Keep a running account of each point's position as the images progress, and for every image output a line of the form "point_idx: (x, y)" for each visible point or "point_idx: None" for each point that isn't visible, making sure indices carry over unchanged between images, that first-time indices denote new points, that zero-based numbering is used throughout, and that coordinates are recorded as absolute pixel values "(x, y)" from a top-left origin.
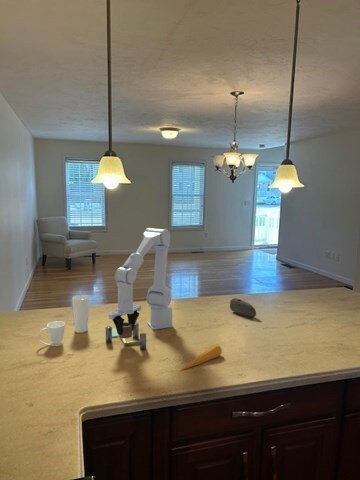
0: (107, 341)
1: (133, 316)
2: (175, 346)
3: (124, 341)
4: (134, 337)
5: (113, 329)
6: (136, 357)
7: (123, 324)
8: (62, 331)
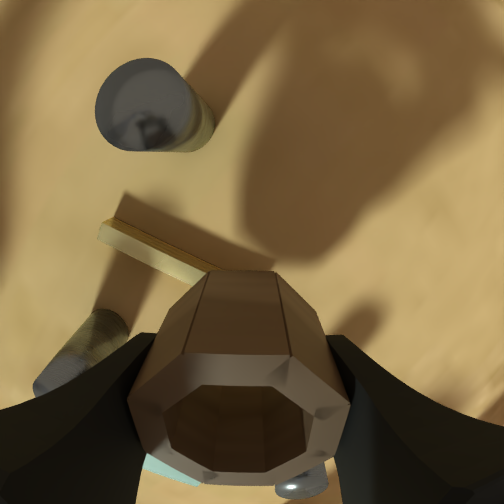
0: None
1: (61, 486)
2: (15, 34)
3: None
4: (119, 329)
5: (170, 472)
6: (330, 57)
7: (226, 457)
8: None
